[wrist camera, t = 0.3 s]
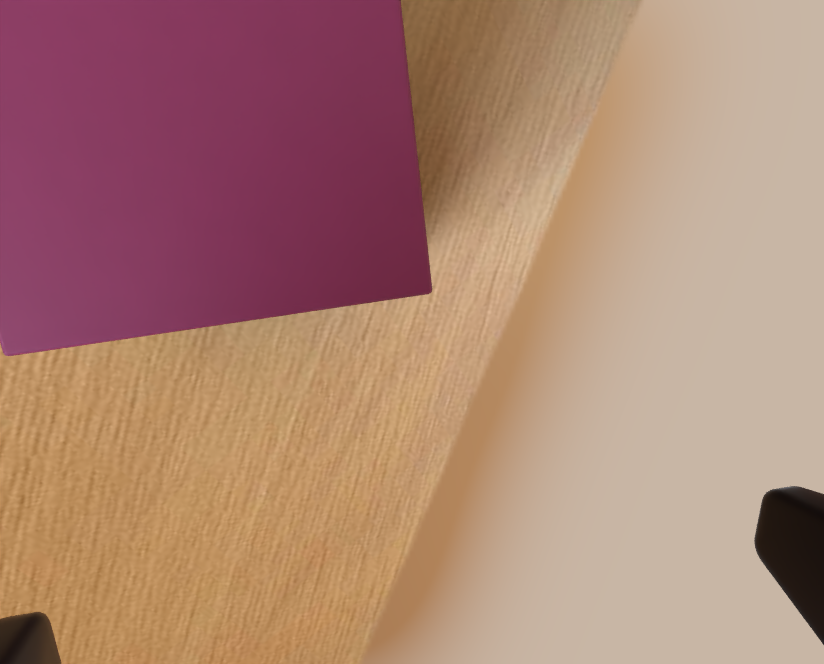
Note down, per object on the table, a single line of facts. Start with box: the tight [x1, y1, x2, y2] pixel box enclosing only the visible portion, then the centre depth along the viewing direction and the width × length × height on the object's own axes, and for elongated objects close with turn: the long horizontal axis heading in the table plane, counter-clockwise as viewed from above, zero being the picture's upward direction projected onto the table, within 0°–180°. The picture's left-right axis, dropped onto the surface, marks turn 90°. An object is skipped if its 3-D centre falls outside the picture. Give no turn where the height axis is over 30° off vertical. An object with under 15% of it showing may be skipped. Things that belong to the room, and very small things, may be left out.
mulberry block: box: [0, 0, 432, 356], centre depth 10 cm, size 5×5×8 cm
